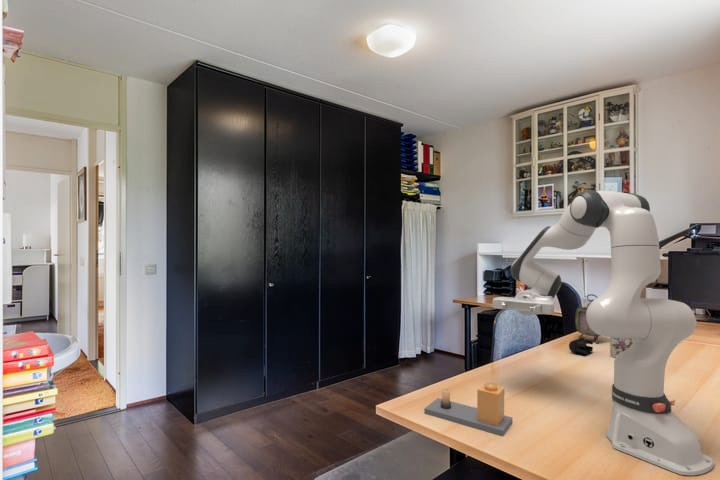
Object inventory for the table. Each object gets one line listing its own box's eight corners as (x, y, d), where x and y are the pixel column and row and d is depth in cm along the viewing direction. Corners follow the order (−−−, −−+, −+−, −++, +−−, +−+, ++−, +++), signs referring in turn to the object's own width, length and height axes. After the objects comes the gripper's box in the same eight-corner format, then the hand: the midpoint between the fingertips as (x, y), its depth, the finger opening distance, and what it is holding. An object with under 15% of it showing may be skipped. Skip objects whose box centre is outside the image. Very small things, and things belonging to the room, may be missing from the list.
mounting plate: (512, 422, 117) (512, 400, 117) (502, 436, 109) (503, 412, 109) (437, 402, 131) (437, 382, 131) (424, 413, 123) (424, 392, 123)
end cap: (577, 349, 195) (577, 336, 194) (593, 353, 189) (593, 339, 189) (568, 353, 188) (568, 339, 188) (584, 357, 183) (584, 342, 183)
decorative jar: (652, 361, 177) (652, 321, 177) (635, 364, 173) (635, 323, 173) (625, 353, 188) (626, 316, 188) (609, 356, 184) (609, 318, 184)
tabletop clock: (574, 338, 217) (575, 292, 217) (587, 336, 220) (588, 292, 220) (597, 344, 203) (598, 296, 203) (611, 343, 206) (611, 296, 206)
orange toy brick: (503, 418, 117) (504, 384, 117) (497, 426, 112) (498, 390, 112) (483, 412, 120) (484, 379, 120) (477, 420, 115) (477, 385, 115)
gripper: (498, 291, 150) (486, 296, 139) (557, 296, 138) (550, 301, 127) (498, 308, 150) (486, 313, 139) (557, 314, 138) (550, 321, 127)
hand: (517, 308), depth 133 cm, fingers open, 8 cm apart
